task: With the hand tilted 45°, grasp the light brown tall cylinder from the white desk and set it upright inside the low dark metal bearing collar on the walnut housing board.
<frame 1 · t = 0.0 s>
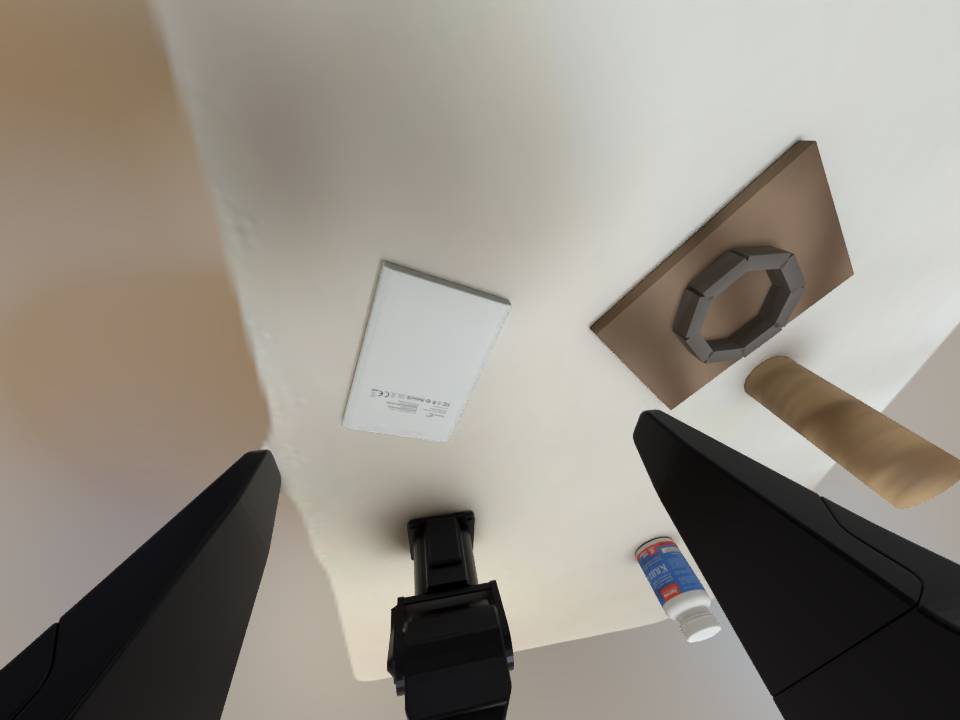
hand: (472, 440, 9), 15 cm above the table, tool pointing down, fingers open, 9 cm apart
external hard drive: (420, 357, 25), on the table
light brown tall cylinder: (767, 376, 32), on the table
housing: (718, 298, 26), on the table
pill bottle: (652, 546, 47), on the table
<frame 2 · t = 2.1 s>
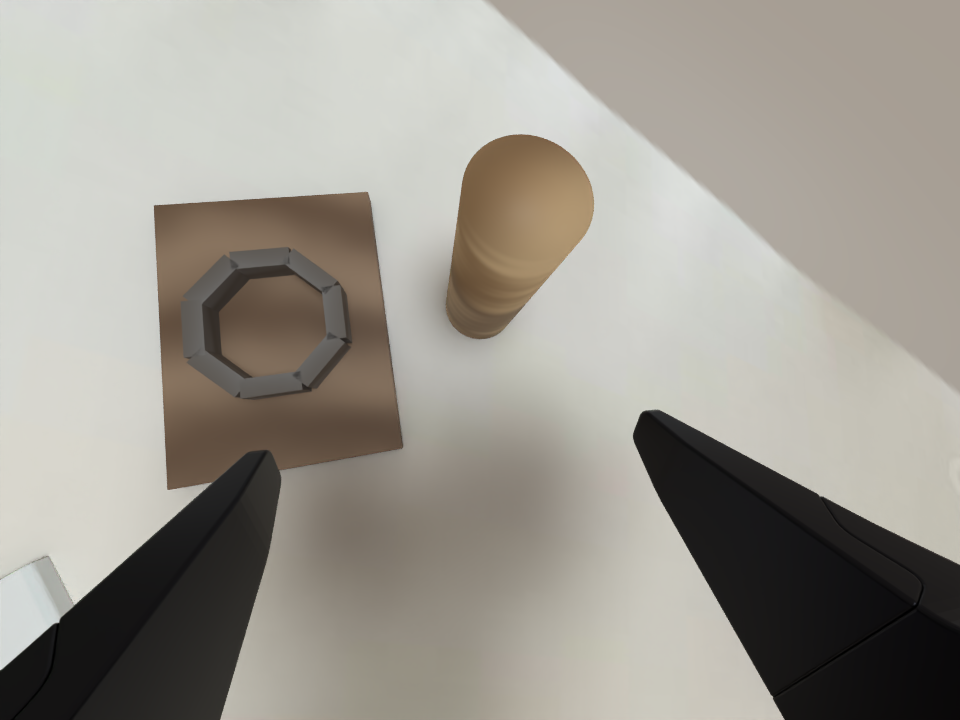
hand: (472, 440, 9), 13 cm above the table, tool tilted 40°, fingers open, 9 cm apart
external hard drive: (32, 709, 18), on the table
light brown tall cylinder: (479, 306, 23), on the table
housing: (284, 330, 21), on the table
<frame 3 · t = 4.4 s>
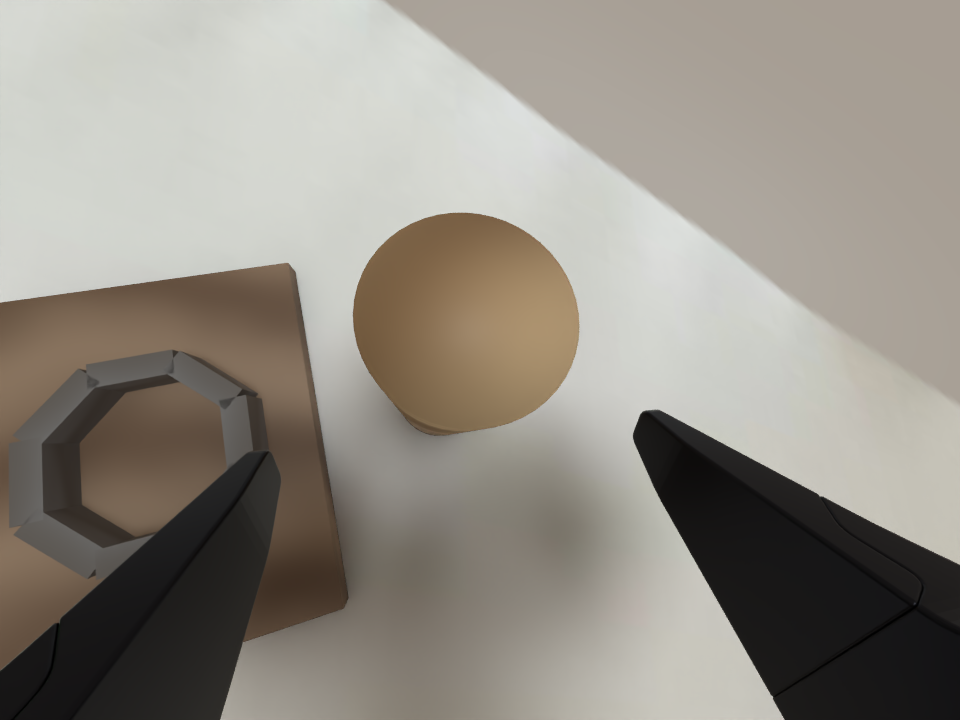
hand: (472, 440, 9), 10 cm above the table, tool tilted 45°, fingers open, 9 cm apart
light brown tall cylinder: (440, 392, 18), on the table
housing: (180, 453, 16), on the table
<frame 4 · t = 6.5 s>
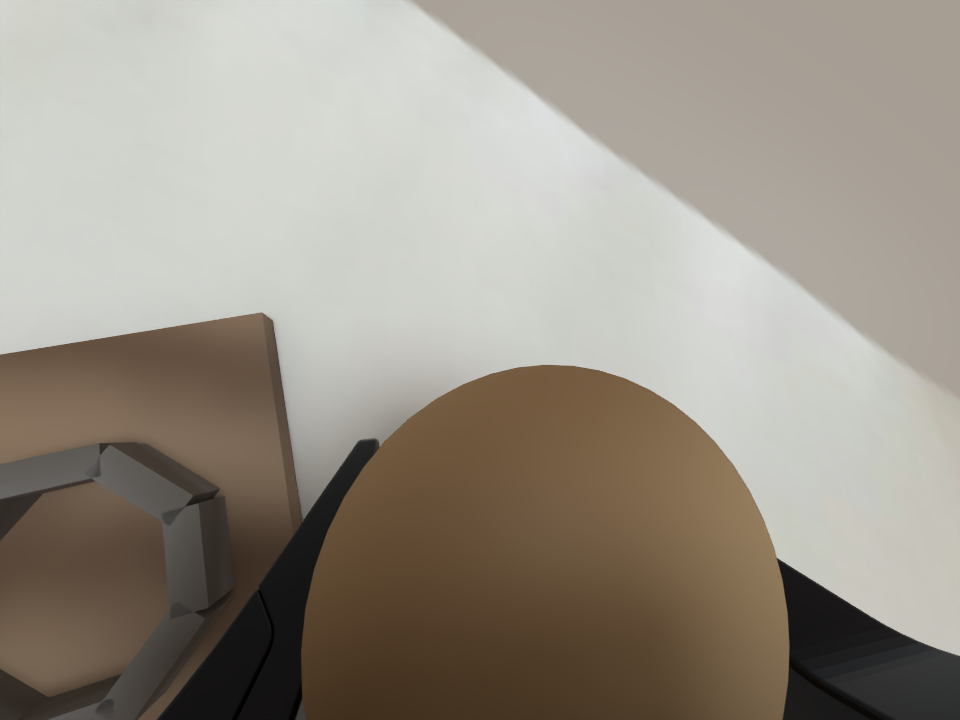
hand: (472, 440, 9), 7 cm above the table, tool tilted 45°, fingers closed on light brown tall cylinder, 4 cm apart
light brown tall cylinder: (454, 472, 15), on the table, touching gripper
housing: (118, 566, 12), on the table
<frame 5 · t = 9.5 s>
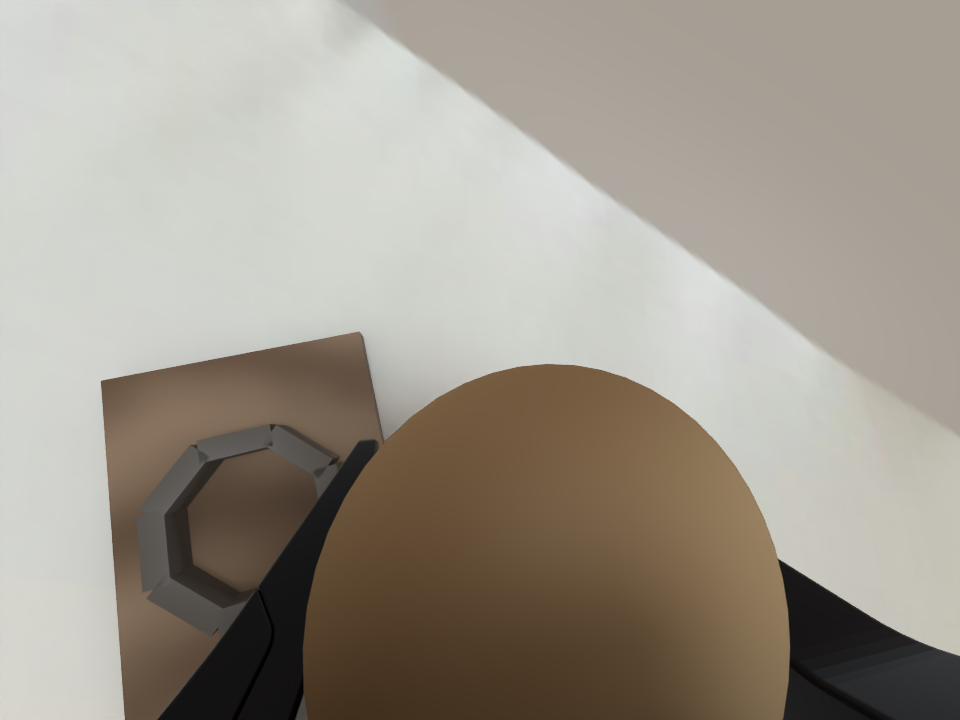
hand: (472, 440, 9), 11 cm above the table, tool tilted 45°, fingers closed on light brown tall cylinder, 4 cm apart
light brown tall cylinder: (454, 472, 15), point 5 cm above the table, touching gripper
housing: (270, 511, 18), on the table
when the fingers open (8 cm above the table, at t = 12.9 s): light brown tall cylinder stays where it is, resting on housing.
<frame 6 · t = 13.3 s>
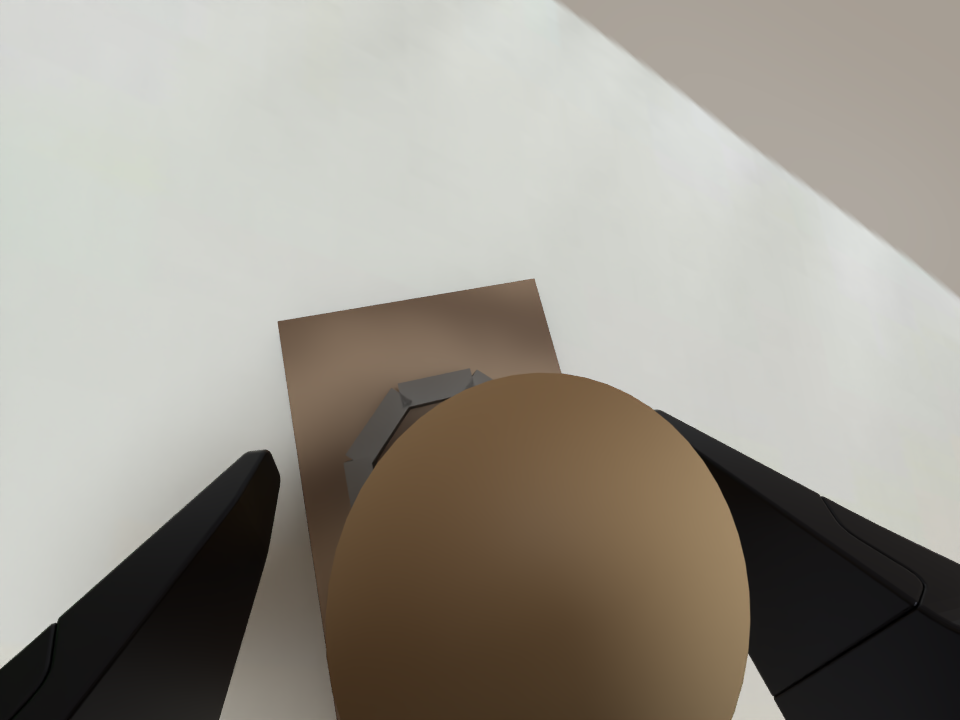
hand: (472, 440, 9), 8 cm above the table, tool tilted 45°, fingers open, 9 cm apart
light brown tall cylinder: (453, 471, 15), point 1 cm above the table, touching housing
housing: (451, 469, 16), on the table
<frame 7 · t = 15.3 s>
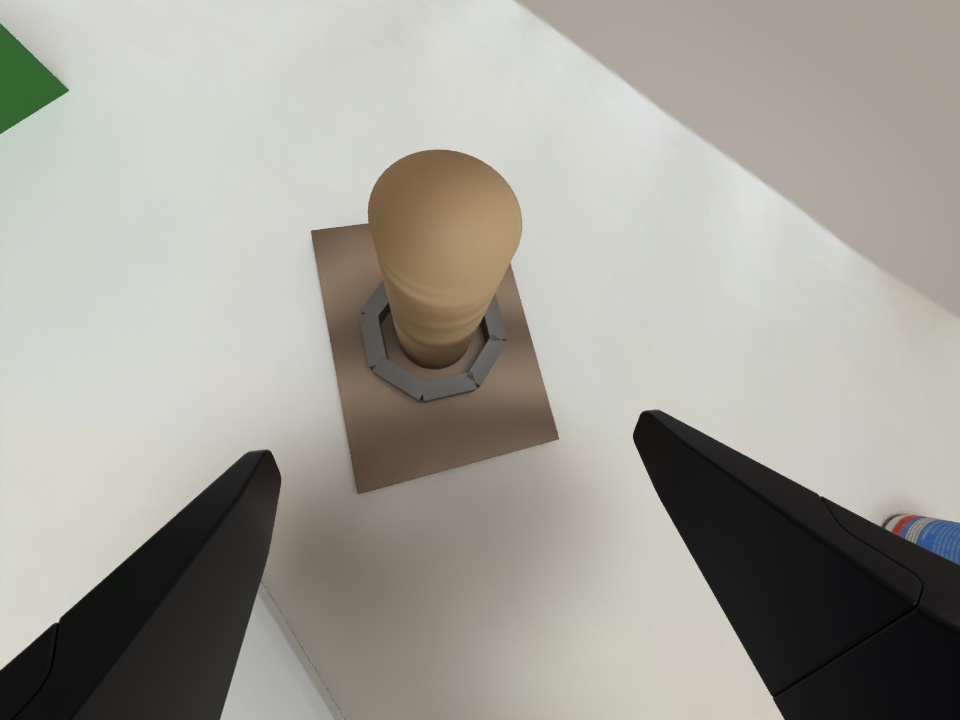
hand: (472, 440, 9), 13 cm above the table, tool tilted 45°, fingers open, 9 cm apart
external hard drive: (240, 712, 18), on the table
light brown tall cylinder: (434, 334, 22), point 1 cm above the table, touching housing
housing: (433, 338, 23), on the table
pill bottle: (905, 553, 25), on the table
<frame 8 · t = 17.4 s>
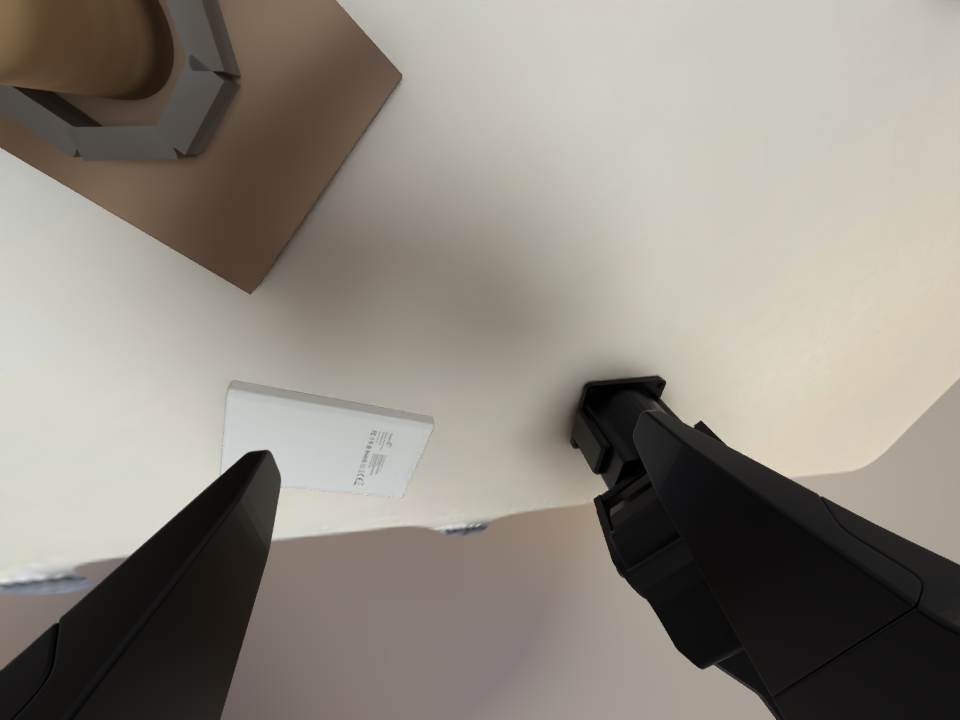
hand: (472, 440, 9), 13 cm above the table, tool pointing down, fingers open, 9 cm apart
external hard drive: (332, 436, 25), on the table
light brown tall cylinder: (92, 17, 12), point 1 cm above the table, touching housing
housing: (113, 25, 12), on the table
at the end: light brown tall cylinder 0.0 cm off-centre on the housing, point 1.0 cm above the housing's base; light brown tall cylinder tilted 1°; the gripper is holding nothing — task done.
